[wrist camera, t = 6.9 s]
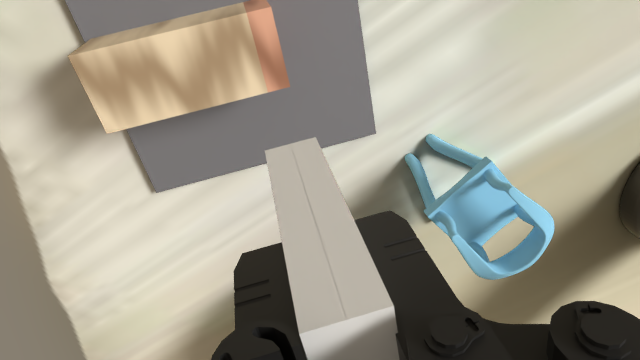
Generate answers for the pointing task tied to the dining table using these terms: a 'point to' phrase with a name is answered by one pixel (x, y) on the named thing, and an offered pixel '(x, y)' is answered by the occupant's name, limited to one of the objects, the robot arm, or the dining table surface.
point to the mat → (258, 111)
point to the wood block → (182, 65)
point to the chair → (483, 213)
